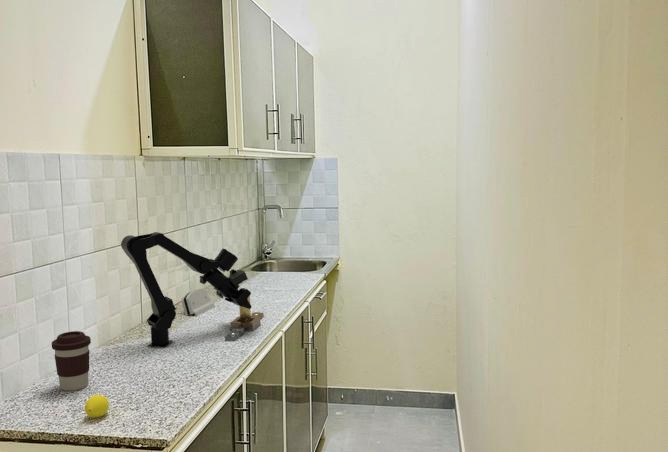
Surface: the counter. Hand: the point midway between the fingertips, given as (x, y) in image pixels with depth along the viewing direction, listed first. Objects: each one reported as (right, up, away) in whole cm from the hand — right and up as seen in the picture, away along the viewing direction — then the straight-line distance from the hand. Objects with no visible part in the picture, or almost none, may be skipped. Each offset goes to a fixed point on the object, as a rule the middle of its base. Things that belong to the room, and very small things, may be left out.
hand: (248, 306), depth 223 cm
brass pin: (-1, -7, 0) cm, 7 cm away
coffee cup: (-41, -15, -55) cm, 70 cm away
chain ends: (-1, -8, 0) cm, 8 cm away
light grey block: (-25, -6, +27) cm, 37 cm away
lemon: (-26, -17, -75) cm, 82 cm away
